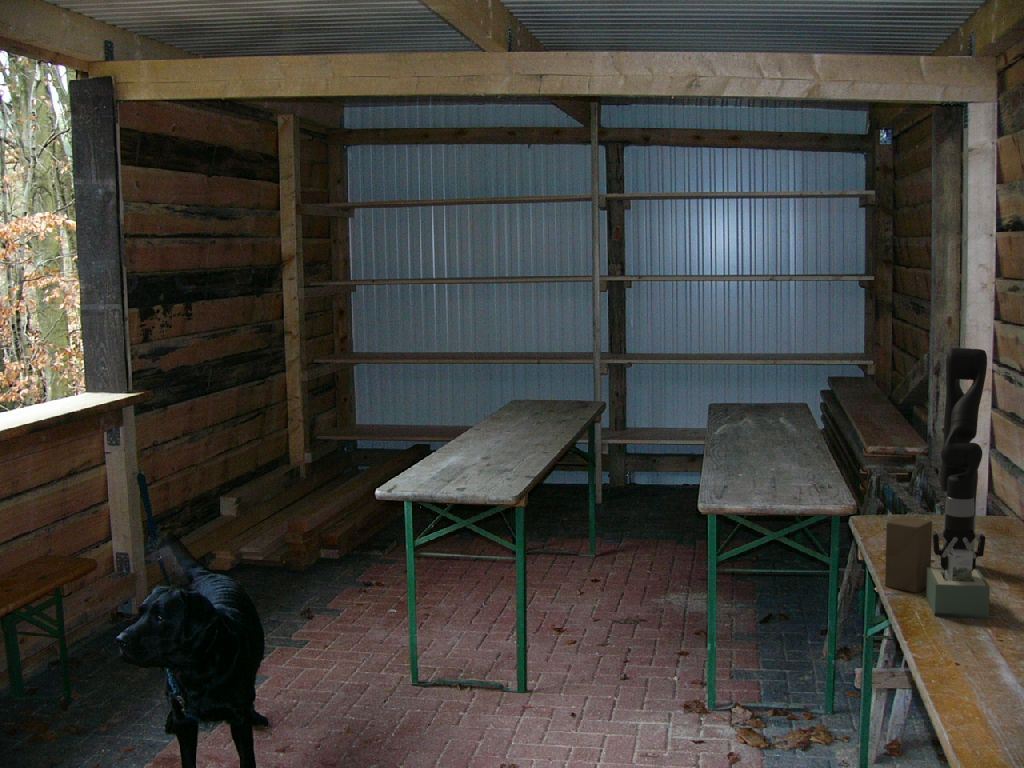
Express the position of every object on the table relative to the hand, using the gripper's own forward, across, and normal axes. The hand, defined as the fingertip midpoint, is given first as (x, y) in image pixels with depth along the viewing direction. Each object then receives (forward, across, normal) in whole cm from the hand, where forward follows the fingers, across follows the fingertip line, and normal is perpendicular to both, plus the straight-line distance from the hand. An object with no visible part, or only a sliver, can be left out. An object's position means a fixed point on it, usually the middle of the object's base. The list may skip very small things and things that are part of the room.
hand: (957, 569), depth 317 cm
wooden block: (+11, +11, -18) cm, 24 cm away
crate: (+11, 0, 0) cm, 11 cm away
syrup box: (+8, 0, 0) cm, 8 cm away
